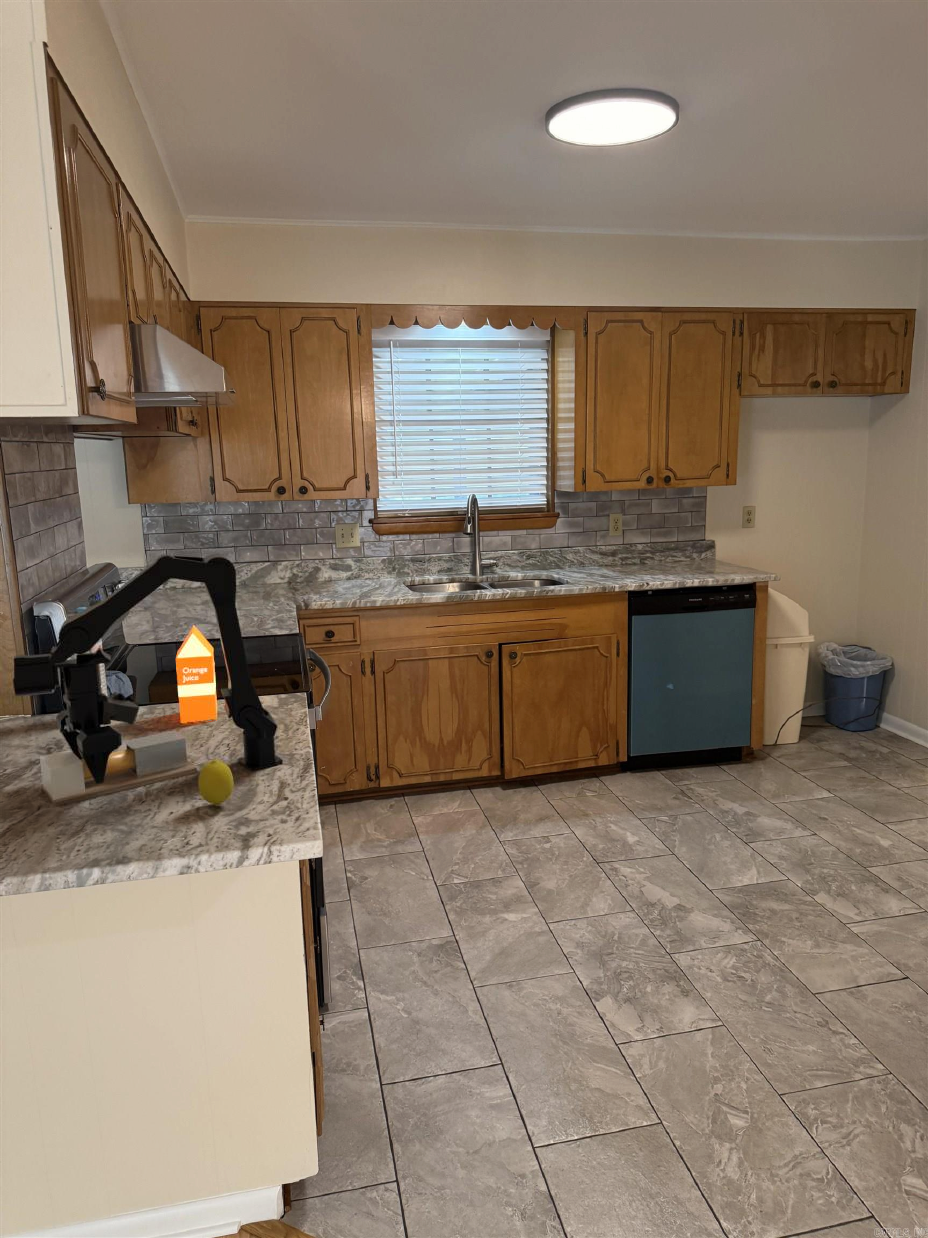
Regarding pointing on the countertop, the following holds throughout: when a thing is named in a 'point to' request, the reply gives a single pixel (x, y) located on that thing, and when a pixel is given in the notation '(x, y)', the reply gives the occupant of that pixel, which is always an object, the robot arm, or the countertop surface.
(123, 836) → the countertop surface
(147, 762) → the steel sleeve
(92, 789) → the walnut board
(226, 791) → the lemon
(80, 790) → the white socket
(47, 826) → the countertop surface
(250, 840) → the countertop surface
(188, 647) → the orange juice
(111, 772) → the orange tube
